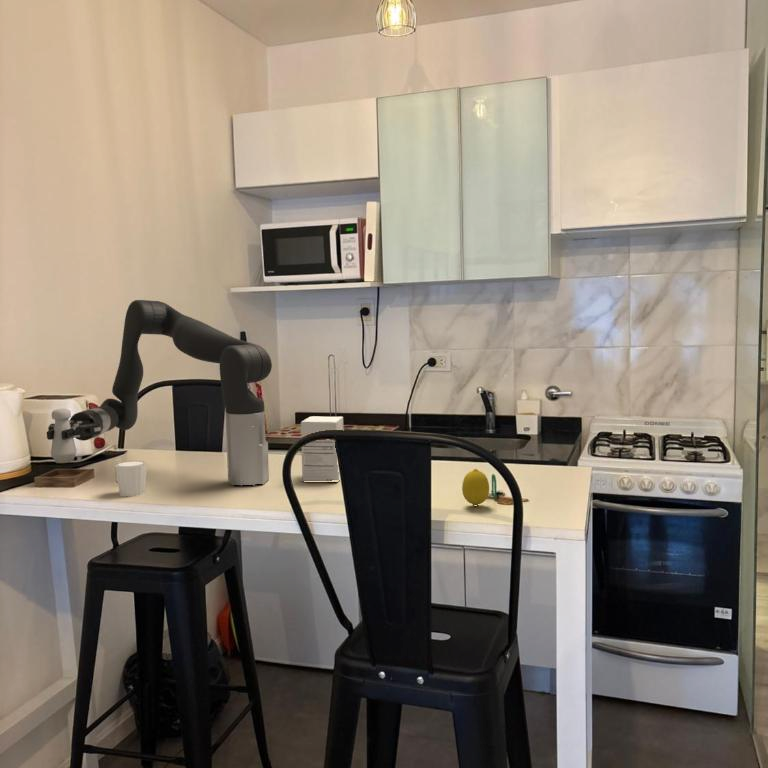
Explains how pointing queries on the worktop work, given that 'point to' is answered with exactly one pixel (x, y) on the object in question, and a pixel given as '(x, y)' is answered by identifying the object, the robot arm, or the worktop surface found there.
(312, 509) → the worktop surface
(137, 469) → the shot glass
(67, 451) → the salt shaker
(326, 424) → the supplement box
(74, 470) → the wooden tray
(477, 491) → the lemon
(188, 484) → the worktop surface
